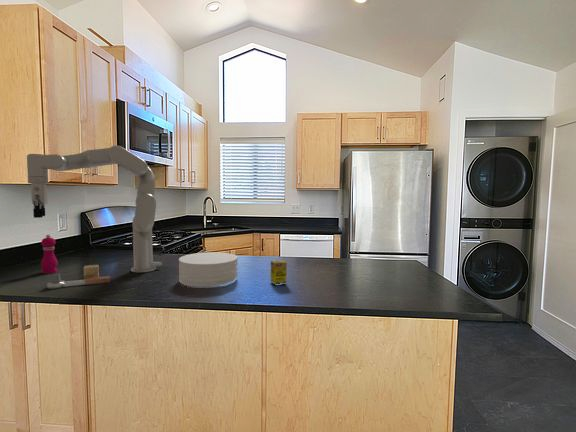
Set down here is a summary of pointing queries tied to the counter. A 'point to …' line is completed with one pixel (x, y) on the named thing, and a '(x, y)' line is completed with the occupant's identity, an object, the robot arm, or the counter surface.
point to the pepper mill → (48, 256)
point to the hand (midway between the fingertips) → (39, 216)
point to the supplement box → (278, 271)
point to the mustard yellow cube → (91, 271)
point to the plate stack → (207, 268)
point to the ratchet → (75, 281)
